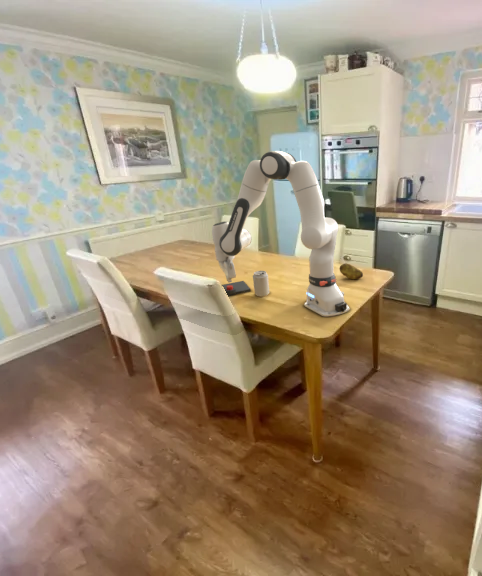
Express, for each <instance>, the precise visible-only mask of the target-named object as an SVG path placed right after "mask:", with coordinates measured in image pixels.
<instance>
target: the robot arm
mask: <svg viewBox="0 0 482 576" xmlns="http://www.w3.org/2000/svg"><path fill="white" fill-rule="evenodd" d="M272 180H274V181H275V180H279V181H283V180H287V181H288V182H289V183H290V185H291V188H292V192H293V193H294V197H295V200H296V203H297V207H298V210H299V215H300V223H301V231H300V232H301V233H300V242H301V244H302V245H303V246H304V247H305V248H307V249H309V250H310V255H309V258H308V262H309V266H308V267H309V273H308V282H309V284H308V287H307V288H306V292H305V295H306V302H304V304H303V305H304V307H305V308H307V309H309V310H310V311H312V312H314V313H316V314H318V315H319V316H322V317H325V318H327V317H335V316H339V315H342V314H345V313H347V312H349V311H350V310H351V309H350V306H349V305H348V303H347V302H345V292H344V291H341V290H340V286H338V284H337V278H336V275H335V269H334V267H335V265H334V262H335V259H334V258H335V250H336V245H337V236H338V232H339V224H338V222H337V221H336V219H335V218H332V217H327V216H326V217H325V199H324V196H323V193H322V190H321V187H320V184H319V181H318V178H317V175H316V173H315V170H314V169H313V166H312V165H311V163H309V162H308V161H306V160H299V161H297V159H296V158H295V157H294V156H293V154H291V153H289V152H284V151H282V150H281V151H280V150H271V151H267V152H265V153H263V155H262V156H261V158H260V159H253V160H251V161H250V162H249V163H248V165H247V167H246V169H245V172H244V175H243V177H242V180H241V184H240V188H239V192H238V196H237V199H236V201H235V204H234V207H233V210H232V213H231V216H230V218H229V221H219V222H217V223H214V224H213V225H212V227H211V234H212V235H211V236H212V243H213V244H214V253H215V260H216V261H218V265H219V268H220V269H221V271H222V273H224V275H225V278H226V281H227V283H228V284H229V283H233V281H232V279H235V278H236V276H237V274H236V269H235V264H234V262H233V261H234V259H235V258H236V256H237V255H238V254H239V253H240V252H242V251H243V250H245V249H246V248H248V247H249V246H250V245H251V243H252V235H251V233H250V231H248V230H247V229H246V228H244V227H245V224H246V221H247V219H248V217H249V216H250V215H251V213H252V212H254V211H255V210H257V208H259V207H260V206H261V205H262V203H263V201H264V199H265V197H266V194H267V190H268V189H269V184H270V182H271V181H272Z"/></svg>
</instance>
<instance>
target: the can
mask: <svg viewBox="0 0 482 576" xmlns="http://www.w3.org/2000/svg"><path fill="white" fill-rule="evenodd" d="M252 281H253V290H254V295H255V296H257V297H260V298H263V297H266V296H269V294H270V284H269V283H270V282H269V281H270V280H269V274H268V273H267V271H266V270H257V271H254V272H253V275H252Z"/></svg>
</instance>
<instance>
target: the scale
mask: <svg viewBox="0 0 482 576" xmlns="http://www.w3.org/2000/svg"><path fill="white" fill-rule="evenodd" d="M228 285H232V286H233V289H232V290H227V286H228ZM222 286H223V287H224V289H225V291H226V293H227V294H228V296H227V297H230V296H235V295H240V294H244V293H249V292H251V288H250V287H249V285H248V284H247V283H246V282H245V281H244V280H241V281H234V282H230V283H229V282H228V283H225V284H224V283H223V284H221V287H222ZM226 293H225V294H226ZM227 294H226V295H227Z"/></svg>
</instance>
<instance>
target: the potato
mask: <svg viewBox="0 0 482 576" xmlns="http://www.w3.org/2000/svg"><path fill="white" fill-rule="evenodd" d="M339 272H340V273H341V275H342V276H344V277H346V278H347V279H349V280H359V279H362V278H363V276H364V273H363V271H362V270H361V269H359V268H358V267H355V266H354V265H352V264H350V263H343V264H341V265H340V266H339Z"/></svg>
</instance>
